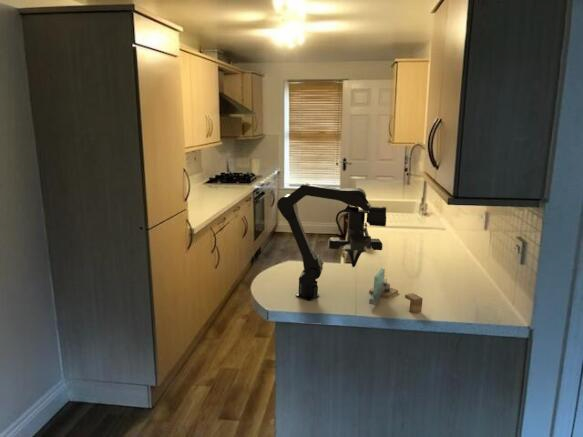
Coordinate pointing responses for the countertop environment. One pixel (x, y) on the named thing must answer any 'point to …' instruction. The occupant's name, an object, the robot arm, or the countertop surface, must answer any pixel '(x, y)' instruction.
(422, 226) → the countertop surface
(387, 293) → the pintle block
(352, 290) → the countertop surface
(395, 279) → the countertop surface
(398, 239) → the countertop surface
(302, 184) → the robot arm
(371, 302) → the link
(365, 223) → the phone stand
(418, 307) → the block
